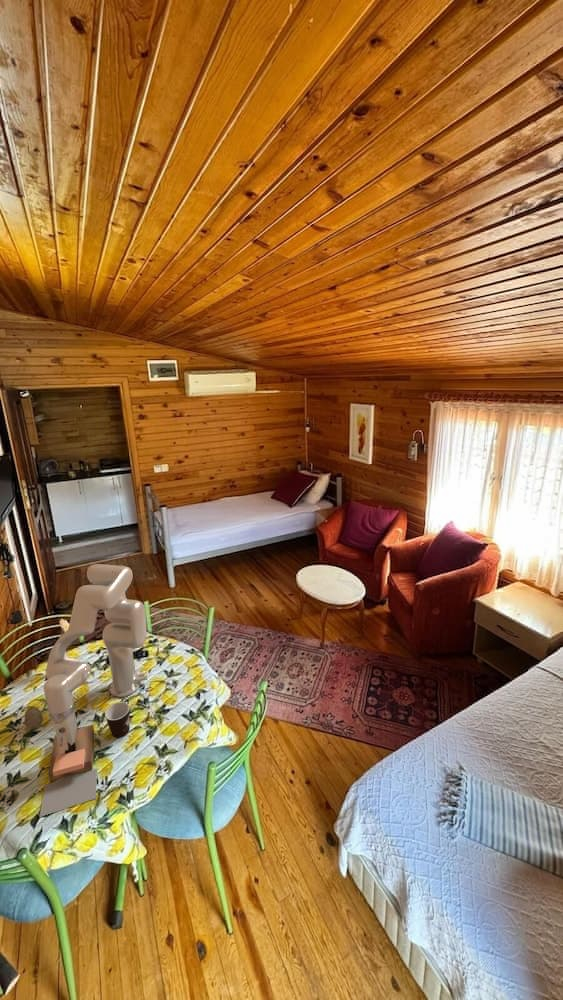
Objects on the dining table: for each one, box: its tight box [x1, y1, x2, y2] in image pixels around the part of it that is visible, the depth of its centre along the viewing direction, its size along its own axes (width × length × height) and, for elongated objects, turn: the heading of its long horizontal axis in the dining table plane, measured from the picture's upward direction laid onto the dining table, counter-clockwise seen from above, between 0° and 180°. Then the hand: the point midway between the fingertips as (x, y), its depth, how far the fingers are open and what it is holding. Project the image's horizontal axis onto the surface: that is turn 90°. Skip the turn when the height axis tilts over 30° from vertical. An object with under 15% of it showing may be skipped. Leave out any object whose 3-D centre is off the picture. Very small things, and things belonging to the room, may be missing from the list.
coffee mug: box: [104, 698, 131, 739], centre depth 156 cm, size 12×9×10 cm
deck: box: [47, 724, 96, 784], centre depth 145 cm, size 13×16×4 cm
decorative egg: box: [24, 705, 44, 731], centre depth 156 cm, size 6×6×10 cm
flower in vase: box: [59, 618, 78, 661], centre depth 184 cm, size 13×11×25 cm
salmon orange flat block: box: [53, 749, 85, 776], centre depth 138 cm, size 9×6×2 cm, turn 109°
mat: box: [39, 768, 98, 818], centre depth 133 cm, size 16×11×1 cm
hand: (70, 751), depth 142 cm, fingers closed
